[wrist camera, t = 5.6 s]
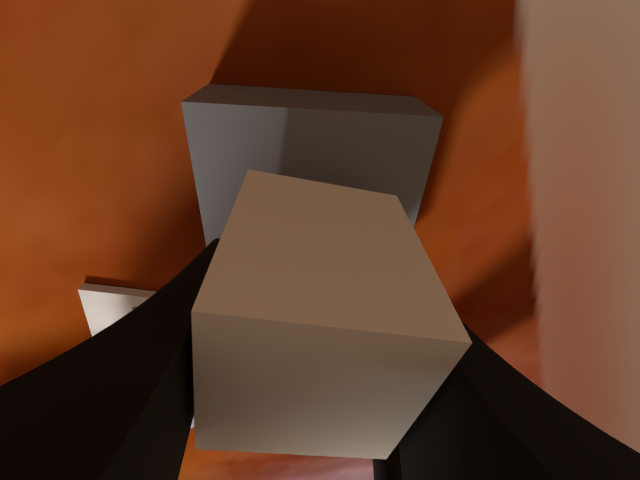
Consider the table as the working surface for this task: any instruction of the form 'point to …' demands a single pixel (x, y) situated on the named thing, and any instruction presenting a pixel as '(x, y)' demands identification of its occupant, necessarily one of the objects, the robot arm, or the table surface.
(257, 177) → the cream block
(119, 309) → the tile
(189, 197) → the table surface
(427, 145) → the gray block
